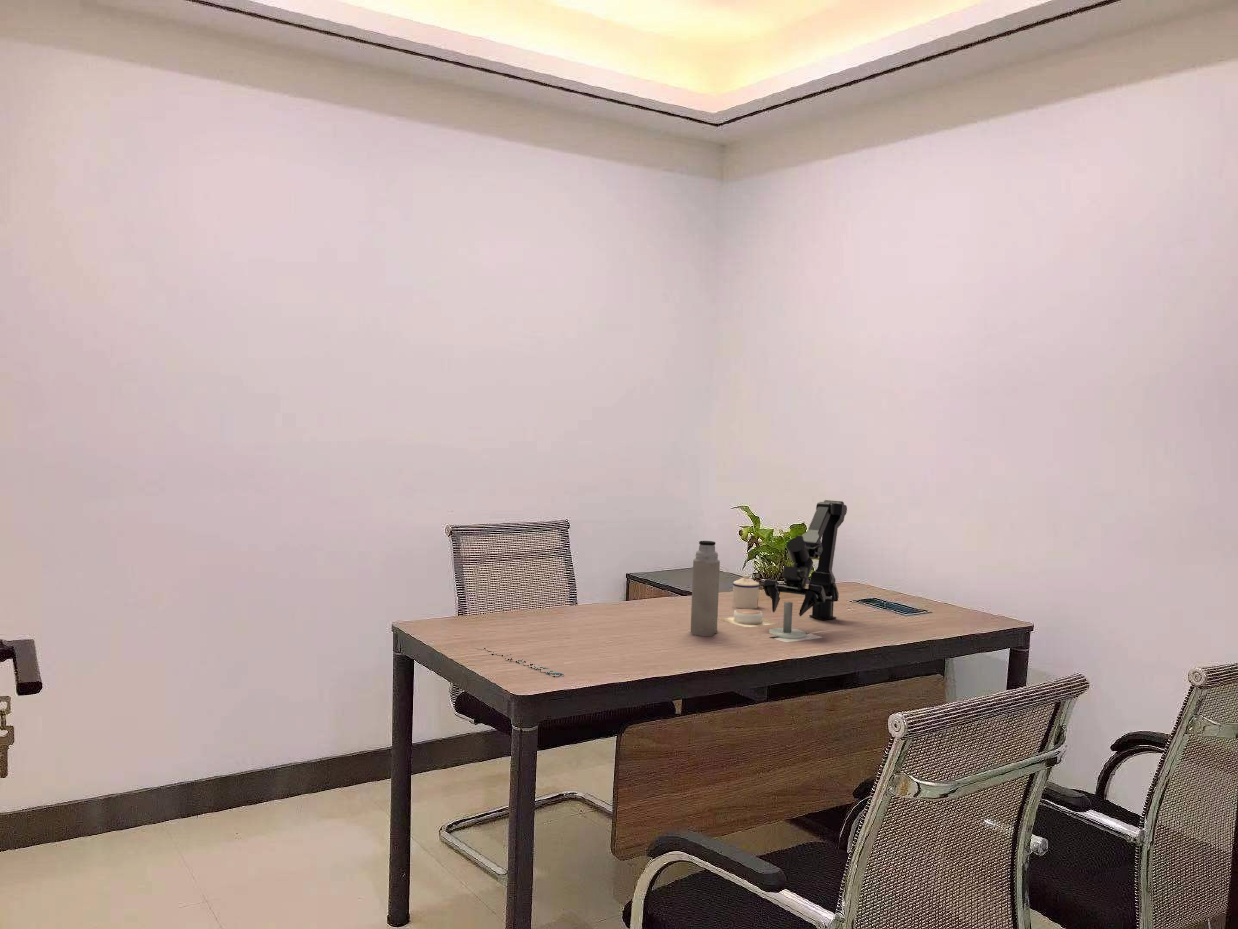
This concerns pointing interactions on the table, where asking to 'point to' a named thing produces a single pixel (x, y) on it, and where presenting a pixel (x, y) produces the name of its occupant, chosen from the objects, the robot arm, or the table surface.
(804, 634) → the lid
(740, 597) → the teacup with lid
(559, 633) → the table surface
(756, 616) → the bowl
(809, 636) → the mat
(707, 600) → the thermos bottle
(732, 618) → the board
